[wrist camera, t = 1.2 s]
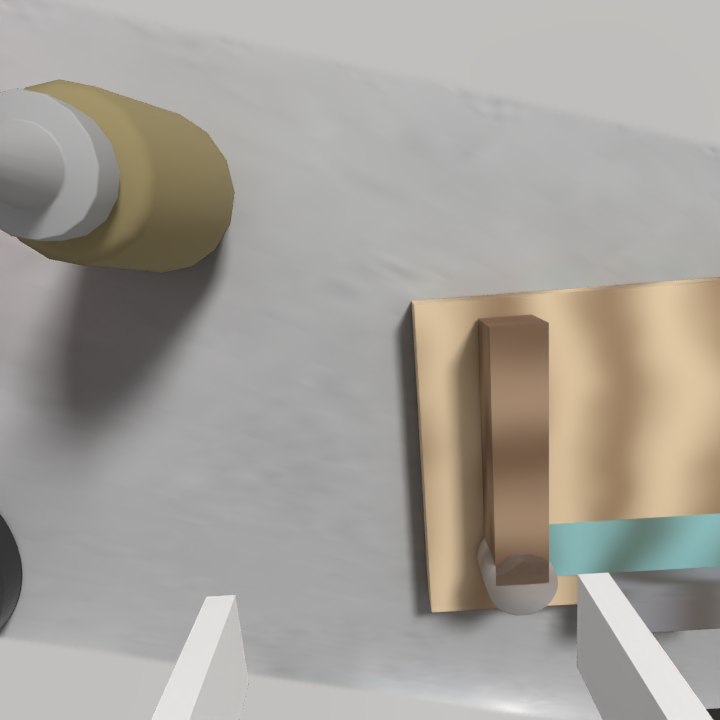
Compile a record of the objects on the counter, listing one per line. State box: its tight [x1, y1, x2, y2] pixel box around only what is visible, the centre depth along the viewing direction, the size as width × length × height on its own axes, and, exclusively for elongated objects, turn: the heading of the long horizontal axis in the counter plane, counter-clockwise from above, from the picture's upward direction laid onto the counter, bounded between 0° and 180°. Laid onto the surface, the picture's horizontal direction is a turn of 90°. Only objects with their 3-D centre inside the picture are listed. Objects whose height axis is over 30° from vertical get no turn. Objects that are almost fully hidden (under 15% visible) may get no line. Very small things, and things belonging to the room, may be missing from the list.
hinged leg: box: [477, 314, 558, 615], centre depth 31 cm, size 17×4×3 cm, turn 4°
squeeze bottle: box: [0, 80, 234, 273], centre depth 22 cm, size 8×8×18 cm
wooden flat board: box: [412, 277, 720, 632], centre depth 32 cm, size 22×20×5 cm
